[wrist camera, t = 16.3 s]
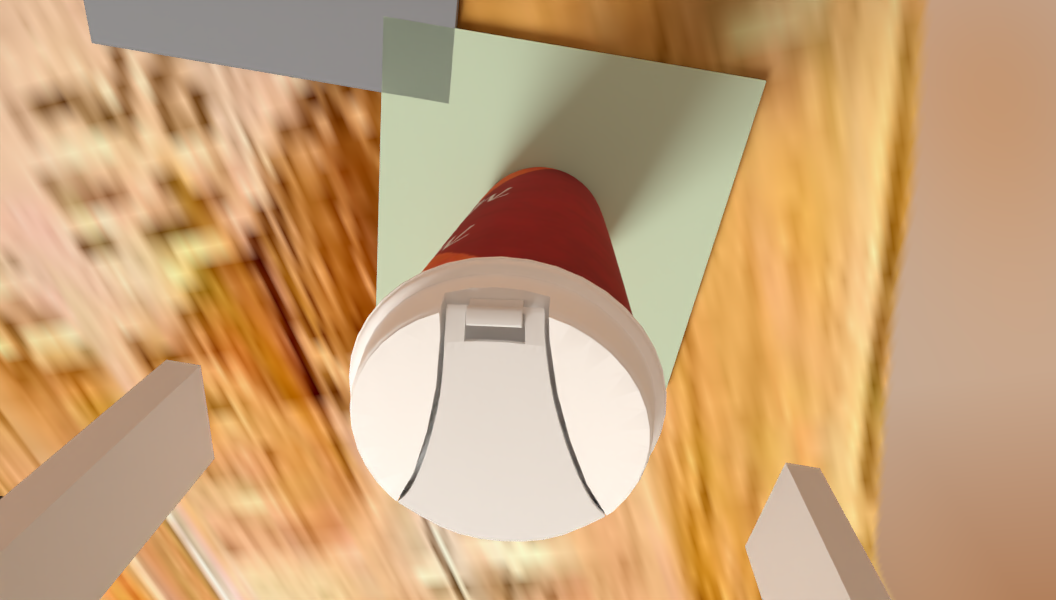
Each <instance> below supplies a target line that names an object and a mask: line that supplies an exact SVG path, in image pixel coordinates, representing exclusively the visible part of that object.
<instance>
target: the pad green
mask: <svg viewBox="0 0 1056 600" xmlns="http://www.w3.org/2000/svg"><path fill="white" fill-rule="evenodd" d="M384 18H385V16H384ZM388 18H389V17H388ZM388 18H387V21H388V20H389V19H388ZM385 19H386V18H385ZM385 19H384V20H383V27H384V28H383V34H384V33H387V32H388V31H390V30H391V28H392V29H394V28H396V27H397V26H399V25H401V23H400V24H399V25H397V26H396V27H394V28H393V26H394V25H393V24H395V22H394V21H395V20H396V19H395V18H392V21H391V20H389V21H388V23H387V21H385ZM393 19H394V21H393ZM399 20H400V22H402V23H404V24H402V25H405V21H402V20H403V19H402V20H401V19H399ZM399 20H397V21H398V23H399ZM406 21H408V20H406ZM389 22H394V23H393V24H390V26H391V25H393V26H391V27H390V26H388V25H389ZM411 22H412V21H411ZM413 22H415V21H413ZM413 22H412V23H413ZM385 23H386V24H388V25H386V24H385ZM412 23H409V22H406V24H407V25H409V24H410V29H412V31H411V30H410V32H413V28H414V32H413V33H414V34H415V35H412V36H414V37H412V38H411V39H413V38H415V39H413V40H416V38H417V36H416V34H418V33H419V31H420V30H422V28H421V27H420V25H418V22H417V24H416V25H418V27H417V26H416V25H415V27H417V28H418V30H419V31H416V32H417V33H415V29H416V28H415V27H414V24H415V23H414V24H413V26H412V27H413V28H412V27H411V24H412ZM384 24H385V26H384ZM419 24H420V23H419ZM422 24H424V23H422ZM422 24H421V25H422ZM402 25H401V26H402ZM425 25H426V23H425ZM429 25H430V24H429ZM405 26H406V25H405ZM426 26H428V25H426ZM432 26H433V25H432ZM435 26H436V25H435ZM385 27H386V28H387V27H388V28H389V27H390V29H389V30H387V29H388V28H387V29H386V28H385ZM407 27H408V31H409V26H407ZM419 27H420V28H421V29H419ZM423 27H424V25H423ZM430 27H431V25H430V26H429V29H430ZM433 27H434V26H433ZM440 27H442V28H443V30H444V32H445V31H449V30H450V29H449V27H448V28H447V27H445V28H444V27H443V26H440ZM440 27H437V28H439V29H440ZM398 28H399V27H398ZM427 28H428V27H427ZM427 28H425V32H426V29H427ZM435 28H436V27H435ZM446 28H447V29H449V30H447V29H446ZM384 29H386V31H387V32H384V31H385V30H384ZM396 29H397V28H396ZM402 29H403V27H402ZM402 29H401V30H402ZM406 29H407V28H406ZM406 29H405V28H404V31H405V30H406ZM423 29H424V28H423ZM429 29H428V30H429ZM433 29H434V28H433ZM433 29H432V28H431V30H429V31H432V30H433ZM451 29H452V28H451ZM394 30H395V29H394ZM398 30H399V29H398ZM401 30H400V31H401ZM428 30H427V31H428ZM443 30H441V31H443ZM454 30H455V33H454V32H452V34H454V37H453V38H454V39H452V38H451V37H452V36H449V35H451V34H446V35H447V36H449V37H450V38H449V37H447V36H446V37H445V38H444V35H445V34H444V35H443V38H444V41H447V42H445V43H444V42H443V43H444V44H446V43H448V44H449V47H448V46H446V45H447V44H446V45H445V46H444V44H443V47H445V49H446V48H449V50H447V49H446V50H445V49H444V48H443V47H441V49H442V48H443V49H442V50H443V55H444V53H445V52H444V51H446V52H447V51H450V49H451V48H453V50H452V49H451V52H452V53H451V54H453V57H452V56H450V57H448V56H445V57H448V58H449V61H448V62H447V63H446V62H443V61H441V62H442V64H443V63H446V64H444V65H445V66H446V65H447V64H448V63H449V62H450V61H451V63H452V64H451V63H449V64H448V65H452V67H451V69H452V70H451V71H450V72H451V73H449V74H451V81H449V79H450V76H449V77H448V78H449V79H447V78H445V76H446V75H447V74H448V72H449V68H450V66H449V68H448V67H447V66H448V65H447V66H446V67H447V68H448V70H447V69H444V68H441V67H442V64H441V65H440V63H439V65H438V62H440V60H438V59H436V58H437V56H438V55H437V56H436V58H435V59H434V57H435V55H434V54H436V52H435V53H434V51H433V50H432V51H431V49H432V48H431V49H430V51H431V52H433V53H434V54H432V53H431V52H430V51H429V49H428V48H427V49H426V48H425V49H426V52H428V53H431V55H433V56H434V57H432V59H434V64H433V67H434V68H433V67H432V70H433V69H434V71H432V70H431V65H432V63H433V60H432V63H429V61H430V62H431V55H430V54H428V55H427V54H426V53H425V54H426V56H428V57H426V58H425V59H426V61H428V63H427V62H426V64H430V70H428V72H429V71H430V73H431V72H434V73H433V74H435V73H436V72H437V71H438V70H439V67H438V66H441V67H440V68H441V69H440V70H441V71H440V70H439V73H440V72H442V71H443V69H444V70H445V72H444V71H443V72H444V73H445V74H446V72H447V71H448V72H447V74H446V75H445V74H444V75H445V76H444V75H443V74H442V73H443V72H442V73H441V74H439V73H438V76H437V73H436V77H437V78H436V77H434V78H435V79H437V80H438V85H439V84H440V83H441V84H442V85H443V83H446V82H447V81H446V79H447V80H448V82H450V84H449V85H448V84H447V83H448V82H447V83H446V85H448V86H449V87H448V86H445V85H443V86H444V87H446V88H447V87H448V88H447V92H448V91H449V94H450V95H449V94H448V93H447V92H445V91H446V88H444V91H442V90H441V91H440V95H442V94H441V92H445V93H447V94H448V95H447V94H446V95H447V96H445V95H444V96H445V97H447V98H449V102H448V103H449V104H448V103H445V102H447V100H446V99H445V97H444V101H445V100H446V101H445V102H443V101H442V100H443V98H441V99H442V100H441V101H440V102H439V100H440V99H439V98H438V101H437V102H436V100H437V97H438V96H436V99H435V101H433V99H434V98H435V96H434V97H430V96H429V95H430V94H431V92H430V94H429V95H428V94H427V95H428V96H429V97H430V100H424V99H420V98H418V95H417V98H416V92H419V93H420V91H421V92H422V93H423V91H425V90H427V89H425V88H427V87H428V85H427V84H429V83H427V84H426V85H427V86H426V87H425V86H424V85H425V84H422V83H423V82H424V81H427V82H429V78H431V76H435V75H431V74H432V73H431V74H430V73H428V74H427V75H429V74H430V75H431V76H430V77H429V76H427V77H426V78H428V77H429V78H428V80H427V79H426V78H424V77H423V79H421V78H422V77H421V78H420V79H421V81H422V83H420V82H418V81H420V80H419V79H418V78H419V77H420V76H422V75H424V74H425V73H427V72H425V73H424V74H421V73H420V76H418V78H417V79H416V77H417V74H418V75H419V73H416V75H414V74H413V73H415V72H416V71H415V70H417V66H416V67H415V62H414V61H413V62H414V64H412V63H411V64H410V62H411V60H410V59H409V57H410V56H411V55H410V56H409V54H408V55H406V56H404V55H402V53H403V54H405V53H404V52H402V51H401V50H399V51H398V47H399V48H400V49H401V48H402V47H403V46H402V44H403V40H402V41H399V37H401V36H399V34H398V33H399V32H400V31H399V32H398V31H395V32H396V33H397V34H398V35H397V34H394V33H395V32H393V35H396V36H398V39H397V40H398V41H397V40H396V37H395V36H393V35H391V34H392V31H393V30H392V31H391V32H388V33H387V34H389V33H391V34H390V35H387V36H385V35H386V34H385V35H384V36H385V37H389V38H390V39H391V42H392V41H393V40H394V38H395V40H394V43H395V42H399V43H400V42H402V43H401V46H402V47H400V46H396V44H397V43H396V44H395V45H394V44H393V46H391V44H392V43H391V42H390V43H391V44H390V43H388V42H389V41H390V39H389V38H386V39H387V40H385V39H384V40H385V42H383V43H385V44H384V45H386V41H388V39H389V41H388V42H387V44H388V45H389V44H390V46H391V49H392V47H393V48H395V47H394V46H396V48H397V54H398V55H399V53H400V51H401V52H402V53H401V54H400V56H401V57H403V56H404V57H408V60H410V61H408V60H406V62H407V61H408V62H409V63H408V62H407V64H406V62H403V61H405V59H406V58H404V57H403V59H404V60H403V59H402V58H401V57H399V58H398V55H397V57H396V60H397V59H399V60H398V61H397V62H398V63H399V62H402V63H403V66H402V67H404V68H402V69H403V70H406V71H407V70H408V69H409V68H410V70H409V71H408V72H409V73H410V71H411V68H412V66H413V67H415V68H416V69H414V68H413V69H414V71H415V72H414V71H411V72H412V73H411V74H410V75H409V73H408V72H406V71H405V73H408V74H407V75H406V74H405V75H404V74H403V73H402V74H403V75H404V76H406V77H407V78H406V79H403V81H402V79H401V78H399V77H400V76H401V74H400V72H399V71H402V70H400V66H401V65H400V64H398V65H400V66H399V71H398V72H399V73H398V72H397V73H398V74H399V75H400V76H399V77H396V78H398V79H399V80H398V79H395V78H394V77H395V75H394V74H396V69H397V68H398V65H397V67H395V66H396V65H394V64H393V65H394V67H395V69H394V67H393V68H391V67H392V66H393V65H392V63H391V64H390V62H389V63H388V61H389V60H388V59H387V64H388V65H392V66H391V67H390V68H391V69H393V70H395V73H394V74H392V73H393V71H392V73H391V74H392V75H393V76H394V77H393V79H395V80H396V81H397V80H398V82H399V81H400V80H401V81H402V82H403V83H404V80H408V77H409V76H411V77H413V78H411V77H409V78H411V79H412V80H411V82H413V84H411V85H413V86H412V87H413V88H415V89H417V91H416V92H415V90H414V91H412V89H411V88H412V87H411V88H410V87H409V89H408V90H409V91H410V89H411V91H412V92H415V98H414V97H412V96H411V97H409V96H408V95H409V94H408V95H407V96H406V95H404V94H402V93H403V92H404V91H403V90H405V94H407V93H406V90H407V89H406V88H405V87H404V86H403V85H402V83H401V81H400V82H399V84H401V86H403V88H402V87H401V89H403V90H401V89H399V88H396V87H397V86H396V85H398V84H396V85H395V84H394V87H395V88H394V89H395V90H394V91H396V90H397V89H399V91H400V90H401V91H403V92H402V93H401V95H403V96H401V95H400V93H398V95H395V94H394V93H395V92H394V91H392V89H391V87H390V86H392V85H393V84H392V82H393V81H391V80H390V79H388V78H386V77H384V76H387V77H389V76H388V75H387V72H388V69H389V68H387V71H386V73H385V71H384V70H386V67H385V66H387V64H385V63H383V65H384V64H385V66H384V67H385V69H384V70H382V71H384V72H383V73H382V74H384V73H385V74H386V75H384V76H382V77H384V81H383V80H382V86H383V82H385V79H386V80H387V79H388V80H390V81H391V83H390V81H389V82H388V83H389V84H387V82H385V83H386V84H385V85H386V86H387V85H388V86H389V87H390V90H389V89H388V88H389V87H388V86H387V87H388V88H387V87H386V88H387V89H385V88H384V87H385V86H384V87H382V90H383V89H385V90H386V91H385V93H383V91H384V90H383V91H382V97H381V137H380V176H379V216H378V255H377V295H376V307H377V305H378V304H379V303H380V302H381V301H382V299H383V298H385V297H386V296H387V295H388V294H389V293H391V292H392V291H393V290H394V289H395V288H397V287H398V286H399V285H400V284H402V283H403V282H405V281H407V280H409V279H410V278H412V277H414V276H416V275H418V274H419V273H421V272H422V271H423V270H424V268H425V267H426V266H427V265H428V263H429V262H430V261H431V260H432V259H433V257H434V256H435V255H436V254H437V252H438V251H439V250H440V249H441V247H442V246H443V245H444V244H445V243H446V241H447V240H448V239H449V238H450V236H451V235H452V234H453V233H454V231H455V230H456V229H457V228H458V227H459V225H460V224H461V223H462V222H463V220H464V219H465V218H466V217H467V216H468V214H469V213H470V212H471V211H472V210H473V208H474V207H475V206H476V205H477V204H478V203H479V201H480V200H481V199H482V198H483V197H484V196H485V195H486V194H487V192H488V191H489V190H490V189H491V188H492V187H493V186H494V185H495V184H497V183H498V182H499V181H500V180H501V179H503V178H504V177H506V176H508V175H509V174H511V173H514V172H516V171H519V170H522V169H526V168H532V167H547V168H553V169H557V170H561V171H563V172H566V173H568V174H570V175H572V176H573V177H575V178H576V179H578V180H579V181H580V182H581V183H583V184H584V185H585V186H586V187H587V188H588V190H589V191H590V192H591V193H592V195H593V196H594V198H595V199H596V201H597V203H598V205H599V207H600V210H601V212H602V215H603V218H604V220H605V223H606V227H607V230H608V233H609V236H610V239H611V243H612V246H613V249H614V253H615V256H616V259H617V263H618V266H619V269H620V273H621V276H622V280H623V283H624V287H625V290H626V294H627V297H628V301H629V304H630V307H631V311H632V314H633V317H634V318H635V319H636V320H637V321H638V322H639V324H640V325H641V326H642V327H643V329H644V330H645V332H646V334H647V335H648V337H649V339H650V341H651V342H652V344H653V346H654V347H655V350H656V352H657V355H658V358H659V361H660V363H661V366H662V369H663V374H664V380H665V386H666V388H667V385H668V382H669V379H670V376H671V373H672V369H673V366H674V363H675V360H676V357H677V354H678V351H679V348H680V345H681V342H682V339H683V336H684V333H685V330H686V326H687V323H688V320H689V317H690V314H691V311H692V308H693V305H694V302H695V299H696V296H697V293H698V290H699V287H700V283H701V280H702V277H703V274H704V271H705V268H706V265H707V262H708V259H709V256H710V253H711V250H712V247H713V244H714V240H715V237H716V234H717V231H718V228H719V225H720V222H721V219H722V216H723V213H724V210H725V207H726V204H727V200H728V197H729V194H730V191H731V188H732V185H733V182H734V179H735V176H736V173H737V170H738V167H739V164H740V161H741V157H742V154H743V151H744V148H745V145H746V142H747V139H748V136H749V133H750V130H751V127H752V124H753V121H754V118H755V114H756V111H757V108H758V105H759V102H760V99H761V96H762V93H763V90H764V87H765V84H766V81H765V80H761V79H755V78H750V77H744V76H738V75H732V74H726V73H720V72H714V71H708V70H702V69H696V68H690V67H684V66H678V65H672V64H667V63H661V62H655V61H649V60H643V59H637V58H631V57H625V56H619V55H613V54H607V53H601V52H595V51H589V50H584V49H578V48H572V47H566V46H560V45H554V44H548V43H542V42H536V41H530V40H524V39H518V38H512V37H506V36H501V35H495V34H489V33H483V32H477V31H471V30H465V29H459V28H455V29H454ZM404 31H403V30H402V33H403V32H404ZM422 31H424V30H422ZM429 31H428V32H427V33H425V34H427V35H426V36H424V34H423V36H424V37H425V40H424V39H423V38H424V37H423V36H420V37H421V38H422V37H423V38H422V40H424V41H426V37H427V36H428V33H429ZM434 31H435V30H433V32H432V33H433V34H434V33H436V32H437V31H438V29H437V31H435V32H434ZM452 31H453V30H452ZM420 32H421V31H420ZM444 32H443V33H444ZM406 33H407V32H406ZM438 33H439V35H441V36H442V34H440V32H438ZM446 33H449V32H446ZM450 33H451V30H450ZM407 34H408V35H409V32H408V33H407ZM407 34H406V35H407ZM411 34H412V33H410V37H411ZM420 34H421V35H422V32H421V33H419V34H418V38H419V35H420ZM430 34H431V32H430ZM430 34H429V36H430ZM433 34H431V35H433ZM436 34H437V33H436ZM436 34H435V35H436ZM400 35H401V33H400ZM435 35H434V36H435ZM390 36H391V37H390ZM392 36H393V37H392ZM402 36H403V37H404V39H405V33H404V34H402ZM415 36H416V37H415ZM437 36H438V35H437ZM441 36H439V39H442V38H440V37H441ZM410 37H409V38H410ZM432 37H433V36H432ZM432 37H431V40H434V41H436V40H437V41H438V39H437V38H438V37H437V38H436V37H434V38H436V39H434V38H432ZM383 38H384V37H383ZM401 38H402V37H401ZM406 38H407V36H406ZM409 38H408V39H409ZM421 38H420V39H421ZM429 38H430V37H429ZM429 38H428V39H427V41H426V44H425V42H424V41H423V42H422V40H420V39H419V40H418V39H417V40H416V41H419V42H422V43H424V45H425V47H428V46H426V45H429V44H431V47H432V46H433V49H434V48H435V47H436V46H437V48H439V49H436V48H435V51H436V50H437V54H438V52H439V51H438V50H440V51H441V49H440V46H439V47H438V45H440V44H438V43H437V44H438V45H436V44H435V45H436V46H435V47H434V45H432V44H434V43H433V42H432V43H431V41H430V40H429ZM446 38H449V39H452V40H454V41H451V42H450V41H449V40H448V39H447V40H445V39H446ZM408 39H406V40H405V41H407V40H408ZM411 39H409V40H410V43H411ZM384 40H383V41H384ZM409 40H408V41H407V42H408V43H409ZM428 40H429V42H430V43H429V44H428ZM416 41H415V42H416ZM437 41H436V42H437ZM442 41H443V39H442V40H441V42H440V41H438V42H440V43H441V46H442ZM448 41H449V42H448ZM419 42H418V43H419ZM436 42H435V43H436ZM453 42H454V46H453ZM412 43H413V44H412ZM412 43H411V44H412V46H414V45H415V43H414V42H412ZM416 43H417V42H416ZM422 43H419V44H420V46H423V47H422V48H421V47H419V44H418V47H419V48H420V49H422V51H421V52H423V48H424V45H423V44H422ZM450 43H452V44H451V45H452V46H453V47H452V46H450ZM404 44H405V42H404ZM411 44H410V45H411ZM421 44H422V45H421ZM388 45H387V46H388ZM397 45H400V44H397ZM408 45H409V44H408ZM408 45H407V46H408ZM390 46H389V47H390ZM407 46H405V47H404V48H406V47H407ZM415 46H416V45H415ZM415 46H414V54H416V55H417V56H416V58H417V57H418V54H420V55H422V54H423V53H424V52H423V53H422V54H421V52H420V53H419V52H418V53H417V50H416V53H415V49H417V48H418V47H417V46H416V48H415ZM409 47H410V46H409ZM409 47H408V48H409ZM429 47H430V45H429ZM450 47H451V48H450ZM384 48H385V51H387V49H389V50H390V48H387V47H385V46H384ZM384 48H383V51H384ZM386 48H387V49H386ZM411 48H413V47H411ZM411 48H410V50H411ZM419 48H418V49H419ZM406 49H407V48H406ZM406 49H405V50H406ZM425 49H424V51H425ZM402 50H403V48H402ZM412 50H413V49H412ZM412 50H411V51H412ZM385 51H384V52H385ZM393 51H394V49H393ZM393 51H392V50H391V52H390V53H391V54H390V53H389V54H390V55H389V59H390V56H391V55H392V54H393V55H394V52H393ZM403 51H404V50H403ZM408 51H409V49H408V50H407V53H408ZM411 51H410V53H411ZM418 51H419V50H418ZM387 52H388V51H387ZM392 52H393V53H392ZM398 52H399V53H398ZM405 52H406V51H405ZM395 53H396V50H395ZM412 53H413V52H412ZM412 53H411V54H412ZM440 53H442V51H441V52H440ZM440 53H439V55H440V56H441V58H442V56H443V55H441V54H440ZM385 54H386V53H384V54H383V55H384V56H387V57H388V54H386V55H385ZM445 54H446V53H445ZM448 54H449V55H451V54H450V53H449V52H448V53H447V55H448ZM412 55H413V54H412ZM420 55H419V56H420ZM395 56H396V54H395ZM423 56H424V55H422V57H423ZM429 56H430V57H429ZM440 56H439V59H441V58H440ZM413 57H415V56H413ZM424 57H425V56H424ZM445 57H444V59H446V58H445ZM451 57H452V58H453V59H452V58H451ZM384 58H385V57H383V59H382V60H384ZM391 58H392V57H391ZM400 58H401V59H402V60H403V61H400ZM419 58H421V56H420V57H419ZM419 58H418V64H419V65H421V64H420V63H419V60H421V59H423V58H421V59H419ZM428 58H430V60H427V59H428ZM448 58H447V59H446V60H448ZM392 59H394V57H393V58H392ZM392 59H391V60H392ZM411 59H414V60H415V61H417V60H416V59H415V58H412V57H411ZM444 59H442V60H444ZM451 59H452V60H451ZM394 60H395V59H394ZM396 60H395V62H396ZM436 61H438V62H436ZM382 62H384V61H382ZM385 62H386V58H385ZM393 62H394V61H393ZM420 62H421V61H420ZM435 62H436V63H437V65H438V66H437V65H435ZM402 63H401V64H402ZM404 63H405V65H406V66H407V65H409V64H410V67H409V68H408V69H406V68H407V67H406V66H404ZM422 63H423V62H422ZM424 64H425V63H424ZM424 64H422V66H423V65H424ZM416 65H417V64H416ZM419 65H418V66H419ZM434 65H435V66H434ZM444 65H443V66H444ZM422 66H421V67H422ZM428 66H429V65H428ZM428 66H427V67H428ZM384 67H383V68H384ZM388 67H389V66H388ZM421 67H419V68H421ZM435 67H436V68H438V70H437V69H435ZM383 68H382V69H383ZM423 68H424V69H423ZM413 69H412V70H413ZM397 70H398V69H397ZM420 70H421V69H420ZM420 70H417V71H420ZM422 70H426V71H427V68H426V67H422ZM422 70H421V71H422ZM435 70H436V72H435ZM446 70H447V71H446ZM421 71H420V72H421ZM390 72H391V71H390V69H389V74H390ZM403 72H404V71H403ZM423 72H424V71H422V73H423ZM398 74H396V75H398ZM412 74H413V75H414V76H416V77H414V76H412ZM449 74H448V75H449ZM392 75H391V76H392ZM408 75H409V76H408ZM439 75H440V76H439ZM442 75H443V76H444V78H445V80H444V78H443V79H442V80H441V82H440V83H439V79H438V78H439V77H441V78H442V77H443V76H442ZM424 76H426V75H424ZM401 77H402V76H401ZM446 77H447V76H446ZM391 78H392V77H391ZM403 78H404V77H403ZM441 78H440V79H441ZM382 79H383V78H382ZM393 79H392V80H393ZM413 79H415V80H416V81H417V80H418V81H417V83H419V84H417V83H415V82H414V81H415V80H414V81H413ZM424 79H426V80H424ZM431 79H432V80H433V77H432V78H431ZM431 79H430V80H431ZM388 80H387V81H388ZM409 80H410V79H409ZM409 80H408V81H409ZM423 80H424V81H423ZM396 81H395V82H396ZM445 81H446V82H445ZM398 82H397V83H398ZM434 82H435V81H434ZM406 83H408V84H409V82H407V81H405V84H406ZM424 83H426V82H424ZM430 83H431V82H430ZM390 84H392V85H390ZM405 84H404V85H405ZM415 84H416V85H415ZM421 84H422V85H423V86H424V88H421ZM436 84H437V81H436V83H435V85H434V88H433V89H434V91H435V88H437V87H435V86H436ZM441 84H440V85H441ZM411 85H409V86H411ZM419 85H420V87H419ZM430 85H431V84H430ZM432 85H433V82H432ZM398 86H400V85H398ZM407 86H408V85H407ZM414 86H415V87H414ZM416 86H417V87H418V88H419V89H420V90H418V88H416ZM429 87H430V86H429ZM431 87H433V86H431ZM438 87H439V89H441V88H442V89H443V87H440V86H438ZM392 88H393V87H392ZM407 88H408V87H407ZM449 88H450V89H449ZM421 89H425V90H423V91H422V90H421ZM430 89H431V88H430ZM439 89H438V90H439ZM448 89H449V90H448ZM387 91H388V93H387ZM389 91H390V92H389ZM391 91H392V92H394V93H393V94H392V92H391ZM409 91H408V93H409ZM428 91H429V88H428V90H427V92H428ZM430 91H433V90H430ZM434 91H433V93H434ZM397 92H398V91H396V94H397ZM412 92H410V95H411V93H412ZM389 93H391V94H389ZM419 93H418V94H419ZM422 93H421V94H420V95H422ZM424 93H426V91H425V92H424ZM435 93H437V94H438V93H439V91H438V92H436V91H435ZM435 93H434V94H432V95H431V96H433V95H436V94H435ZM445 93H444V94H445ZM412 95H413V96H414V93H413V94H412ZM427 95H426V96H425V94H424V95H423V97H425V98H426V97H427ZM448 96H450V97H448ZM419 97H420V96H419ZM423 97H421V98H423ZM440 97H441V96H440ZM442 97H443V96H442ZM432 98H433V99H432ZM427 99H428V98H427ZM431 99H432V101H431ZM442 102H443V103H442Z"/></svg>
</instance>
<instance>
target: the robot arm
mask: <svg viewBox="0 0 1056 600" xmlns="http://www.w3.org/2000/svg"><path fill="white" fill-rule="evenodd" d="M213 460H214V452H213V446H212V439H211V432H210V425H209V419H208V412H207V405H206V399H205V392H204V385H203V378H202V372H201V365H195V364H189V363H183V362H177V361H171V360H165V361H164V362H163V363H162V364H161V365H160V366H158V367H157V368H156V369H155V370H154V371H152V372H151V373H150V374H149V375H148V376H146V377H145V378H144V379H143V380H142V381H141V382H139V383H138V384H137V385H136V386H135V387H133V388H132V389H131V390H130V391H129V392H127V393H126V394H125V395H124V396H123V397H122V398H120V399H119V400H118V401H117V402H116V403H114V404H113V405H112V406H111V407H110V408H108V409H107V410H106V411H105V412H104V413H102V414H101V415H100V416H99V417H98V418H97V419H95V420H94V421H93V422H92V423H91V424H89V425H88V426H87V427H86V428H85V429H83V430H82V431H81V432H80V433H79V434H78V435H76V436H75V437H74V438H73V439H72V440H70V441H69V442H68V443H67V444H66V445H64V446H63V447H62V448H61V449H60V450H59V451H57V452H56V453H55V454H54V455H53V456H51V457H50V458H49V459H48V460H47V461H45V462H44V463H43V464H42V465H41V466H39V467H38V468H37V469H36V470H35V471H34V472H32V473H31V474H30V475H29V476H28V477H26V478H25V479H24V480H23V481H22V482H20V483H19V484H18V485H17V486H16V487H15V488H13V489H12V490H11V491H10V492H9V493H7V494H6V495H5V496H4V497H3V496H0V600H100V599H101V597H102V596H103V595H104V594H105V592H106V591H107V590H108V589H109V587H110V586H111V585H112V584H113V583H114V581H115V580H116V579H117V578H118V576H119V575H120V574H121V573H122V571H123V570H124V569H125V568H126V567H127V565H128V564H129V563H130V562H131V560H132V559H133V558H134V557H135V556H136V554H137V553H138V552H139V551H140V549H141V548H142V547H143V546H144V544H145V543H146V542H147V541H148V540H149V538H150V537H151V536H152V535H153V533H154V532H155V531H156V530H157V528H158V527H159V526H160V525H161V524H162V522H163V521H164V520H165V519H166V517H167V516H168V515H169V514H170V513H171V511H172V510H173V509H174V508H175V506H176V505H177V504H178V503H179V501H180V500H181V499H182V498H183V497H184V495H185V494H186V493H187V492H188V490H189V489H190V488H191V487H192V485H193V484H194V483H195V482H196V481H197V479H198V478H199V477H200V476H201V474H202V473H203V472H204V471H205V470H206V468H207V467H208V466H209V465H210V463H211V462H212V461H213ZM745 548H746V551H747V554H748V557H749V560H750V563H751V566H752V569H753V572H754V576H755V579H756V582H757V585H758V588H759V591H760V594H761V597H762V600H891V598H890V596H889V595H888V593H887V591H886V589H885V587H884V585H883V584H882V582H881V580H880V578H879V576H878V574H877V573H876V571H875V569H874V567H873V565H872V563H871V562H870V560H869V558H868V556H867V554H866V552H865V551H864V549H863V547H862V545H861V543H860V541H859V540H858V538H857V536H856V534H855V532H854V530H853V529H852V527H851V525H850V523H849V521H848V519H847V518H846V516H845V514H844V512H843V510H842V508H841V506H840V505H839V503H838V501H837V499H836V497H835V495H834V494H833V492H832V490H831V488H830V486H829V484H828V483H827V481H826V479H825V477H824V475H823V473H822V472H821V470H820V468H814V467H808V466H802V465H796V464H790V463H785V465H784V467H783V469H782V471H781V473H780V475H779V478H778V480H777V482H776V484H775V486H774V488H773V490H772V492H771V494H770V496H769V498H768V500H767V502H766V504H765V506H764V509H763V511H762V513H761V515H760V517H759V519H758V521H757V523H756V525H755V527H754V529H753V531H752V533H751V535H750V537H749V539H748V542H747V544H746V546H745Z"/></svg>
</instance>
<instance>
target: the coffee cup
mask: <svg viewBox="0 0 1056 600" xmlns="http://www.w3.org/2000/svg"><path fill="white" fill-rule="evenodd" d="M349 381H350V393H351V401H350V415H351V427H352V431H353V434H354V438H355V442H356V445H357V449H358V451H359V453H360V455H361V457H362V459H363V461H364V463H365V465H366V467H367V468H368V470H369V471H370V473H371V474H372V476H373V477H374V478H375V480H376V481H377V482H378V483H379V485H380V486H381V487H382V488H383V489H384V490H385V491H386V492H387V493H388V494H389V495H390V496H391V497H392V498H393V499H394V500H396V501H397V500H398V498H399V496H400V498H399V503H400V504H402V505H403V506H405V507H407V508H408V509H410V510H412V511H413V512H415V513H417V514H418V515H420V516H422V517H423V518H425V519H427V520H429V521H431V522H433V523H435V524H437V525H438V526H440V527H443V528H445V529H448V530H451V531H453V532H456V533H459V534H462V535H467V536H471V537H475V538H480V539H489V540H498V541H533V540H544V539H548V538H552V537H557V536H561V535H564V534H567V533H569V532H572V531H574V530H577V529H579V528H582V527H584V526H586V525H588V524H590V523H592V522H595V521H597V520H599V519H601V518H603V517H605V514H606V515H608V514H610V513H611V512H613V511H614V510H615V509H616V508H617V507H618V506H619V505H620V504H621V503H622V502H623V501H624V500H625V499H626V498H627V497H628V495H629V494H630V493H631V491H632V490H633V489H634V487H635V486H636V484H637V483H638V482H639V480H640V478H641V476H642V474H643V472H644V469H645V467H646V465H647V463H648V460H649V456H650V454H651V453H652V451H653V449H654V447H655V445H656V443H657V440H658V438H659V436H660V434H661V430H662V426H663V422H664V418H665V414H666V386H665V380H664V374H663V369H662V366H661V363H660V361H659V358H658V355H657V352H656V350H655V347H654V346H653V344H652V342H651V341H650V339H649V337H648V335H647V334H646V332H645V330H644V329H643V327H642V326H641V325H640V324H639V322H638V321H637V320H636V319H635V318H634V317H633V314H632V311H631V307H630V304H629V301H628V297H627V294H626V290H625V287H624V283H623V280H622V276H621V273H620V269H619V266H618V263H617V259H616V256H615V253H614V249H613V246H612V243H611V239H610V236H609V233H608V230H607V227H606V223H605V220H604V218H603V215H602V212H601V210H600V207H599V205H598V203H597V201H596V199H595V198H594V196H593V195H592V193H591V192H590V191H589V190H588V188H587V187H586V186H585V185H584V184H583V183H581V182H580V181H579V180H578V179H576V178H575V177H573V176H572V175H570V174H568V173H566V172H563V171H561V170H557V169H553V168H547V167H532V168H526V169H522V170H519V171H516V172H514V173H511V174H509V175H508V176H506V177H504V178H503V179H501V180H500V181H499V182H498V183H497V184H495V185H494V186H493V187H492V188H491V189H490V190H489V191H488V192H487V194H486V195H485V196H484V197H483V198H482V199H481V200H480V201H479V203H478V204H477V205H476V206H475V207H474V208H473V210H472V211H471V212H470V213H469V214H468V216H467V217H466V218H465V219H464V220H463V222H462V223H461V224H460V225H459V227H458V228H457V229H456V230H455V231H454V233H453V234H452V235H451V236H450V238H449V239H448V240H447V241H446V243H445V244H444V245H443V246H442V247H441V249H440V250H439V251H438V252H437V254H436V255H435V256H434V257H433V259H432V260H431V261H430V262H429V263H428V265H427V266H426V267H425V268H424V270H423V271H422V272H421V273H419V274H418V275H416V276H414V277H412V278H410V279H409V280H407V281H405V282H403V283H402V284H400V285H399V286H398V287H397V288H395V289H394V290H393V291H392V292H391V293H389V294H388V295H387V296H386V297H385V298H383V299H382V301H381V302H380V303H379V304H378V305H377V307H376V308H375V309H374V310H373V311H372V313H371V314H370V315H369V316H368V318H367V319H366V321H365V323H364V325H363V327H362V329H361V331H360V332H359V334H358V336H357V339H356V342H355V345H354V349H353V352H352V355H351V363H350V372H349Z"/></svg>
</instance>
